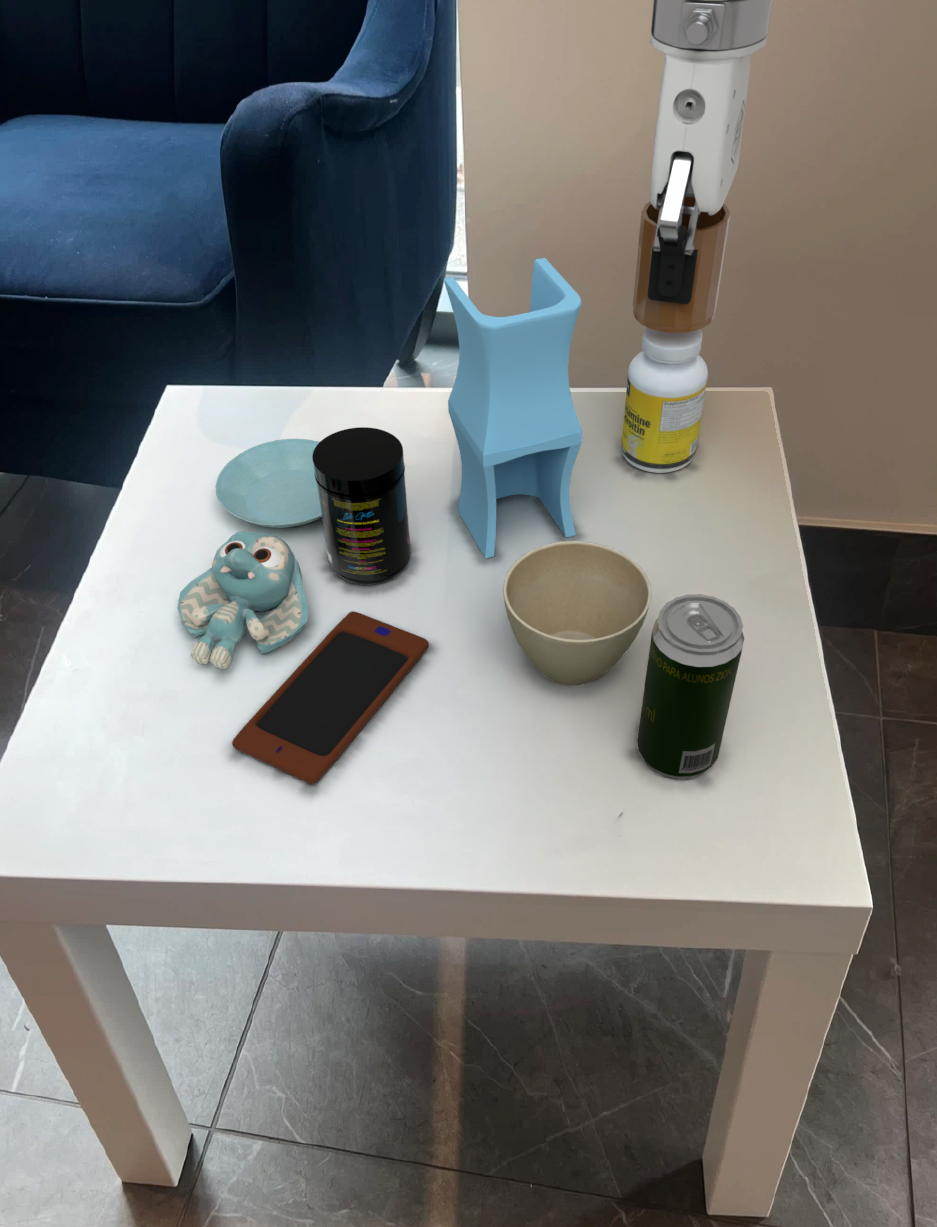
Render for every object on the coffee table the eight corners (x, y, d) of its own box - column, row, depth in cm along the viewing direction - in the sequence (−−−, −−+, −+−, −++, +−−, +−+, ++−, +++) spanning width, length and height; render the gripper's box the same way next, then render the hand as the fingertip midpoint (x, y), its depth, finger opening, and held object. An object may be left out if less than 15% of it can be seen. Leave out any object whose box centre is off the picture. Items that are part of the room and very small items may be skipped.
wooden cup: (684, 285, 90) (697, 186, 84) (730, 320, 86) (747, 218, 80) (617, 305, 88) (625, 205, 82) (661, 341, 84) (673, 239, 78)
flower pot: (483, 692, 78) (482, 619, 73) (528, 601, 85) (529, 528, 79) (621, 728, 75) (629, 655, 70) (656, 631, 82) (667, 557, 76)
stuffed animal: (123, 614, 78) (197, 490, 84) (155, 670, 84) (223, 550, 90) (258, 647, 75) (326, 516, 81) (282, 702, 81) (344, 577, 87)
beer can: (734, 764, 73) (766, 635, 64) (666, 795, 71) (688, 667, 63) (686, 710, 76) (710, 580, 67) (620, 739, 75) (635, 610, 66)
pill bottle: (621, 431, 99) (631, 311, 91) (694, 434, 98) (712, 313, 90) (619, 475, 95) (630, 353, 86) (696, 478, 94) (715, 355, 86)
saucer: (384, 508, 93) (382, 486, 92) (261, 564, 89) (257, 542, 88) (314, 444, 100) (310, 422, 99) (197, 493, 96) (191, 472, 95)
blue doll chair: (538, 480, 95) (545, 256, 80) (576, 535, 90) (589, 305, 75) (452, 502, 93) (442, 278, 79) (484, 558, 88) (481, 329, 74)
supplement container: (422, 577, 87) (414, 468, 80) (339, 598, 86) (323, 489, 78) (398, 527, 92) (389, 419, 84) (319, 545, 90) (302, 438, 83)
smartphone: (431, 638, 81) (313, 780, 72) (431, 647, 82) (315, 789, 73) (350, 606, 84) (228, 740, 75) (351, 616, 84) (230, 749, 76)
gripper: (747, 66, 65) (706, 341, 78) (788, -21, 76) (746, 233, 89) (622, 58, 67) (603, 327, 80) (680, -26, 78) (654, 223, 91)
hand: (678, 276), depth 85 cm, fingers closed on wooden cup, 6 cm apart
